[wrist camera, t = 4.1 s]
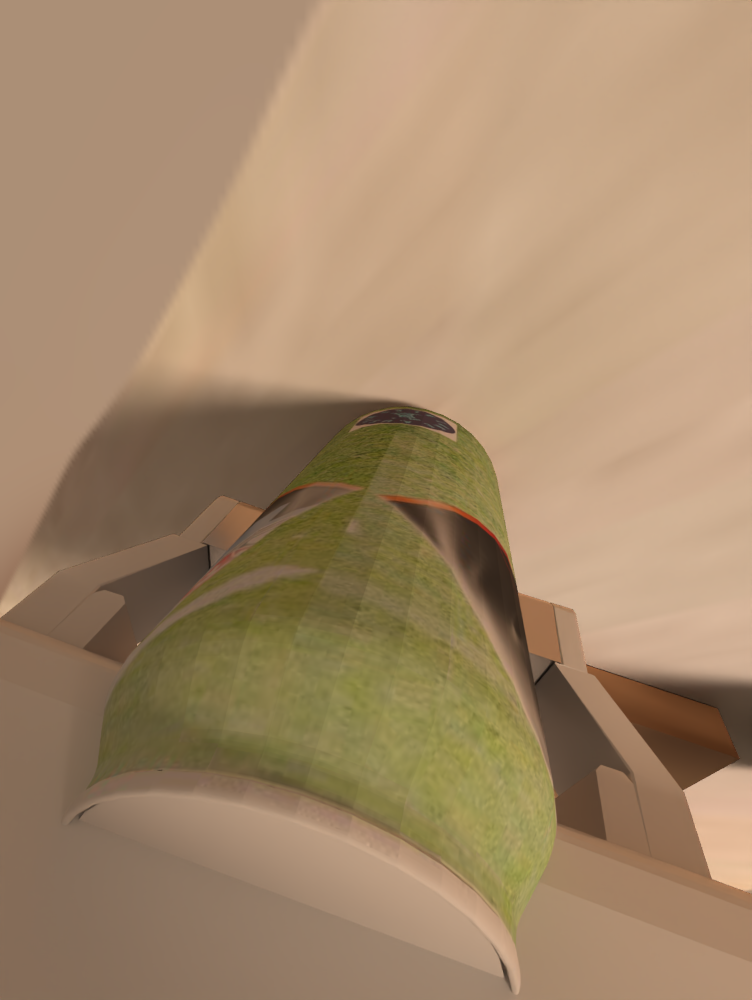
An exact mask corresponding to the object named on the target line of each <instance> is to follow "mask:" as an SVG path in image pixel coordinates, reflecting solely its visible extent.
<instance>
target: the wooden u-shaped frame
mask: <svg viewBox="0 0 752 1000" xmlns="http://www.w3.org/2000/svg"><path fill="white" fill-rule="evenodd" d="M586 667H587V672H588V673H589V674H591V675H594V676H595V677H596V678H597V680H598V681H599V682H600V683H601V685H602V686H603V687H604V689H605V690H606V691H607V693H608V694H609V695H610V696H611V698H612V699H613V700H614V702H615V703H616V704H617V706H618V707H619V708H620V709H621V711H622V712H623V713H624V715H625V716H626V717H627V719H628V720H629V721H630V722H631V724H632V725H633V726H634V728H635V729H636V730H637V732H638V733H639V734H640V736H641V737H642V738H643V739H644V741H645V742H646V743H647V745H648V746H649V747H650V749H651V750H652V751H653V752H654V754H655V755H656V756H657V758H658V759H659V760H660V762H661V763H662V764H663V765H664V767H665V768H666V769H667V771H668V772H669V773H670V775H671V776H672V777H673V779H674V780H675V781H676V782H677V784H678V785H679V786H680V788H681V789H682V790H684V789H686V788H688V787H690V786H691V785H693V784H695V783H697V782H699V781H700V780H702V779H704V778H706V777H708V776H710V775H711V774H713V773H715V772H717V771H719V770H720V769H722V768H724V767H726V766H728V765H729V764H731V763H733V762H735V761H737V760H739V759H740V758H739V756H738V754H737V751H736V749H735V747H734V745H733V742H732V740H731V738H730V736H729V733H728V731H727V729H726V727H725V724H724V722H723V720H722V718H721V716H720V713H719V711H718V709H717V708H714V707H711V706H708V705H705V704H702V703H699V702H696V701H693V700H690V699H687V698H684V697H681V696H678V695H675V694H672V693H669V692H666V691H663V690H660V689H657V688H654V687H651V686H648V685H645V684H642V683H639V682H636V681H633V680H630V679H627V678H624V677H621V676H618V675H615V674H612V673H609V672H606V671H603V670H600V669H597V668H594V667H591V666H588V665H586ZM553 788H554V786H553ZM557 797H558V795H557V793H556V791H555V789H554V798H557Z"/></svg>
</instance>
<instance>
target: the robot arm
mask: <svg viewBox="0 0 752 1000" xmlns="http://www.w3.org/2000/svg"><path fill="white" fill-rule="evenodd" d="M264 511H265V510H264V509H261V508H258V507H255V506H253V505H250V504H247V503H244V502H240V501H237V500H234V499H231V498H229V497H226V496H221V497H218V498H216V499H215V500H214V501H213V502H212V503H211V504H210V505H209V506H208V507H207V508H206V509H205V510H204V511H203V512H202V513H201V514H200V515H199V516H198V517H197V518H196V519H195V520H194V521H193V522H192V523H191V524H190V525H189V526H188V527H187V528H186V529H185V530H184V531H183V532H182V533H181V534H180V535H175V534H171V535H168V536H165V537H162V538H159V539H156V540H153V541H150V542H147V543H144V544H141V545H138V546H135V547H131V548H128V549H125V550H122V551H119V552H116V553H113V554H110V555H107V556H104V557H101V558H98V559H94V560H91V561H88V562H85V563H82V564H79V565H76V566H73V567H70V568H67V569H64V570H61V571H58V572H57V573H56V574H54V575H53V576H52V577H51V578H49V579H48V580H47V581H46V582H45V583H43V584H42V585H41V586H40V587H38V588H37V589H36V590H35V591H33V592H32V593H31V594H30V595H28V596H27V597H26V598H25V599H23V600H22V601H21V602H20V603H18V604H17V605H16V606H15V607H14V608H12V609H11V610H10V611H9V612H7V613H6V614H5V615H4V616H2V617H1V618H0V1000H752V894H751V893H748V892H745V891H743V890H740V889H737V888H734V887H732V886H729V885H726V884H723V883H721V882H718V881H715V880H712V878H711V875H710V872H709V869H708V866H707V862H706V859H705V856H704V853H703V850H702V847H701V844H700V841H699V837H698V834H697V831H696V828H695V825H694V822H693V819H692V815H691V812H690V809H689V806H688V803H687V800H686V797H685V793H684V792H683V790H682V789H681V788H680V786H679V785H678V784H677V782H676V781H675V780H674V779H673V777H672V776H671V775H670V773H669V772H668V771H667V769H666V768H665V767H664V765H663V764H662V763H661V762H660V760H659V759H658V758H657V756H656V755H655V754H654V752H653V751H652V750H651V749H650V747H649V746H648V745H647V743H646V742H645V741H644V739H643V738H642V737H641V736H640V734H639V733H638V732H637V730H636V729H635V728H634V726H633V725H632V724H631V722H630V721H629V720H628V719H627V717H626V716H625V715H624V713H623V712H622V711H621V709H620V708H619V707H618V706H617V704H616V703H615V702H614V700H613V699H612V698H611V696H610V695H609V694H608V693H607V691H606V690H605V689H604V687H603V686H602V685H601V683H600V682H599V681H598V680H597V678H596V677H595V676H594V675H591V674H589V673H588V672H587V667H586V662H585V657H584V652H583V648H582V643H581V638H580V633H579V628H578V623H577V618H576V613H575V612H574V611H573V609H570V608H567V607H563V606H560V605H557V604H554V603H549V602H547V601H544V600H540V599H537V598H534V597H531V596H528V595H525V594H521V593H518V596H519V602H520V607H521V612H522V618H523V623H524V629H525V634H526V640H527V645H528V650H529V656H530V661H531V667H532V672H533V678H534V683H535V688H536V694H537V699H538V705H539V710H540V716H541V721H542V726H543V732H544V737H545V743H546V748H547V754H548V759H549V764H550V770H551V775H552V781H553V786H554V789H555V791H556V793H557V795H558V797H557V798H555V807H556V817H557V828H556V836H555V840H554V845H553V849H552V853H551V856H550V859H549V862H548V864H547V866H546V868H545V870H544V872H543V874H542V876H541V878H540V880H539V882H538V884H537V886H536V888H535V890H534V892H533V894H532V896H531V898H530V900H529V902H528V904H527V906H526V908H525V910H524V912H523V913H522V915H521V917H520V920H519V923H518V926H517V932H516V952H517V957H518V961H519V966H520V975H521V985H520V990H519V993H518V994H517V995H515V994H513V993H512V992H511V989H510V981H509V977H508V973H507V971H506V970H503V974H504V978H501V977H499V976H496V975H493V974H491V973H488V972H485V971H482V970H480V969H477V968H474V967H472V966H469V965H466V964H464V963H461V962H458V961H456V960H453V959H450V958H448V957H445V956H442V955H440V954H437V953H434V952H432V951H429V950H426V949H424V948H421V947H418V946H416V945H413V944H410V943H408V942H405V941H402V940H400V939H397V938H394V937H392V936H389V935H386V934H383V933H381V932H378V931H375V930H373V929H370V928H367V927H365V926H362V925H359V924H357V923H354V922H351V921H349V920H346V919H343V918H341V917H338V916H335V915H333V914H330V913H327V912H325V911H322V910H319V909H317V908H314V907H311V906H308V905H306V904H303V903H300V902H298V901H295V900H292V899H290V898H287V897H284V896H282V895H279V894H276V893H274V892H271V891H268V890H266V889H263V888H260V887H258V886H255V885H252V884H250V883H247V882H244V881H241V880H239V879H236V878H233V877H231V876H228V875H225V874H223V873H220V872H217V871H215V870H212V869H209V868H207V867H204V866H201V865H199V864H196V863H193V862H190V861H188V860H185V859H182V858H180V857H177V856H174V855H172V854H169V853H166V852H164V851H161V850H158V849H156V848H153V847H150V846H148V845H145V844H142V843H139V842H137V841H134V840H131V839H129V838H126V837H123V836H121V835H118V834H115V833H113V832H110V831H107V830H105V829H102V828H99V827H97V826H94V825H91V824H88V823H86V822H83V821H80V820H79V819H80V817H81V816H82V815H83V813H81V812H80V813H78V814H77V815H76V816H75V817H74V818H73V820H72V821H71V822H70V823H69V824H68V825H62V824H61V821H62V818H63V816H64V815H65V813H66V812H67V810H68V809H69V807H70V806H71V805H72V803H73V802H74V800H75V799H76V798H77V797H78V795H79V794H80V793H82V792H83V791H85V790H86V789H87V787H88V785H89V784H90V782H91V780H92V779H93V777H94V774H95V772H96V768H97V764H98V756H99V748H100V740H101V731H102V724H103V717H104V708H105V703H106V699H107V695H108V692H109V689H110V687H111V684H112V682H113V680H114V679H115V677H116V675H117V674H118V672H119V670H120V669H121V667H122V666H123V664H124V662H125V661H126V659H127V657H128V656H129V655H130V654H131V652H132V651H133V650H134V649H135V648H136V647H137V644H138V643H140V642H141V641H143V640H144V638H145V637H146V636H147V635H148V634H149V633H150V632H151V631H152V630H153V629H154V628H155V627H156V626H157V625H158V624H159V623H160V621H161V620H162V619H163V618H164V617H165V616H166V615H167V614H168V613H169V612H170V611H171V610H172V609H173V608H174V607H175V605H176V604H177V603H178V602H179V601H180V600H181V599H182V598H183V597H184V596H185V595H186V594H187V593H188V592H189V591H190V590H191V588H192V587H193V586H194V585H195V584H196V583H197V582H198V581H199V580H200V579H201V578H202V577H203V576H204V575H205V574H206V573H207V571H208V570H209V569H210V568H211V567H212V566H213V565H214V564H215V563H216V562H217V561H218V560H219V559H220V558H221V557H222V556H223V554H224V553H225V552H226V551H227V550H228V549H229V548H230V547H231V546H232V545H233V544H234V543H235V542H236V541H237V540H238V539H239V537H240V536H241V535H242V534H243V533H244V532H245V531H246V530H247V529H248V528H249V527H250V526H251V525H252V524H253V523H254V522H255V520H256V519H257V518H258V517H259V516H260V515H261V514H262V513H263V512H264Z"/></svg>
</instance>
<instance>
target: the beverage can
mask: <svg viewBox="0 0 752 1000" xmlns="http://www.w3.org/2000/svg"><path fill="white" fill-rule="evenodd" d="M80 812H81V813H83V815H82V816H81V817H80V819H79V820H80V821H83V822H86V823H88V824H91V825H94V826H97V827H99V828H102V829H105V830H107V831H110V832H113V833H115V834H118V835H121V836H123V837H126V838H129V839H131V840H134V841H137V842H139V843H142V844H145V845H148V846H150V847H153V848H156V849H158V850H161V851H164V852H166V853H169V854H172V855H174V856H177V857H180V858H182V859H185V860H188V861H190V862H193V863H196V864H199V865H201V866H204V867H207V868H209V869H212V870H215V871H217V872H220V873H223V874H225V875H228V876H231V877H233V878H236V879H239V880H241V881H244V882H247V883H250V884H252V885H255V886H258V887H260V888H263V889H266V890H268V891H271V892H274V893H276V894H279V895H282V896H284V897H287V898H290V899H292V900H295V901H298V902H300V903H303V904H306V905H308V906H311V907H314V908H317V909H319V910H322V911H325V912H327V913H330V914H333V915H335V916H338V917H341V918H343V919H346V920H349V921H351V922H354V923H357V924H359V925H362V926H365V927H367V928H370V929H373V930H375V931H378V932H381V933H383V934H386V935H389V936H392V937H394V938H397V939H400V940H402V941H405V942H408V943H410V944H413V945H416V946H418V947H421V948H424V949H426V950H429V951H432V952H434V953H437V954H440V955H442V956H445V957H448V958H450V959H453V960H456V961H458V962H461V963H464V964H466V965H469V966H472V967H474V968H477V969H480V970H482V971H485V972H488V973H491V974H493V975H496V976H499V977H501V978H504V974H503V970H506V971H507V973H508V977H509V981H510V989H511V992H512V993H513V994H515V995H517V994H518V993H519V990H520V985H521V975H520V966H519V961H518V957H517V952H516V932H517V926H518V923H519V920H520V917H521V915H522V913H523V912H524V910H525V908H526V906H527V904H528V902H529V900H530V898H531V896H532V894H533V892H534V890H535V888H536V886H537V884H538V882H539V880H540V878H541V876H542V874H543V872H544V870H545V868H546V866H547V864H548V862H549V859H550V856H551V853H552V849H553V845H554V840H555V836H556V828H557V817H556V807H555V798H554V788H553V781H552V775H551V770H550V764H549V759H548V754H547V748H546V743H545V737H544V732H543V726H542V721H541V716H540V710H539V705H538V699H537V694H536V688H535V683H534V678H533V672H532V667H531V661H530V656H529V650H528V645H527V640H526V634H525V629H524V623H523V618H522V612H521V607H520V602H519V596H518V591H517V585H516V580H515V574H514V569H513V564H512V558H511V553H510V547H509V542H508V537H507V531H506V526H505V520H504V515H503V509H502V504H501V499H500V493H499V488H498V482H497V477H496V474H495V471H494V468H493V465H492V462H491V460H490V459H489V457H488V455H487V453H486V452H485V450H484V448H483V447H482V446H481V444H480V443H479V442H478V441H477V440H476V439H475V437H474V436H473V435H472V434H471V433H470V432H468V431H467V430H466V429H465V428H463V427H462V426H461V425H460V424H458V423H456V422H455V421H453V420H451V419H449V418H447V417H446V416H444V415H441V414H438V413H435V412H432V411H429V410H426V409H420V408H413V407H390V408H385V409H380V410H376V411H373V412H370V413H368V414H365V415H363V416H360V417H358V418H357V419H355V420H354V421H352V422H351V423H349V424H347V425H346V426H345V427H344V428H343V429H342V430H341V431H340V432H339V433H338V434H336V435H335V436H334V438H333V439H332V440H331V441H330V442H329V443H328V444H327V445H326V446H325V447H324V448H323V449H322V450H321V451H320V452H319V453H318V455H317V456H316V457H315V458H314V459H313V460H312V461H311V462H310V463H309V464H308V465H307V466H306V467H305V468H304V469H303V470H302V472H301V473H300V474H299V475H298V476H297V477H296V478H295V479H294V480H293V481H292V482H291V483H290V484H289V485H288V486H287V487H286V489H285V490H284V491H283V492H282V493H281V494H280V495H279V496H278V497H277V498H276V499H275V500H274V501H273V502H272V503H271V504H270V506H269V507H268V508H267V509H266V510H265V511H264V512H263V513H262V514H261V515H260V516H259V517H258V518H257V519H256V520H255V522H254V523H253V524H252V525H251V526H250V527H249V528H248V529H247V530H246V531H245V532H244V533H243V534H242V535H241V536H240V537H239V539H238V540H237V541H236V542H235V543H234V544H233V545H232V546H231V547H230V548H229V549H228V550H227V551H226V552H225V553H224V554H223V556H222V557H221V558H220V559H219V560H218V561H217V562H216V563H215V564H214V565H213V566H212V567H211V568H210V569H209V570H208V571H207V573H206V574H205V575H204V576H203V577H202V578H201V579H200V580H199V581H198V582H197V583H196V584H195V585H194V586H193V587H192V588H191V590H190V591H189V592H188V593H187V594H186V595H185V596H184V597H183V598H182V599H181V600H180V601H179V602H178V603H177V604H176V605H175V607H174V608H173V609H172V610H171V611H170V612H169V613H168V614H167V615H166V616H165V617H164V618H163V619H162V620H161V621H160V623H159V624H158V625H157V626H156V627H155V628H154V629H153V630H152V631H151V632H150V633H149V634H148V635H147V636H146V637H145V638H144V640H143V641H142V642H141V643H140V644H139V645H138V646H137V647H136V648H135V649H134V650H133V651H132V652H131V654H130V655H129V656H128V657H127V659H126V661H125V662H124V664H123V666H122V667H121V669H120V670H119V672H118V674H117V675H116V677H115V679H114V680H113V682H112V684H111V687H110V689H109V692H108V695H107V699H106V703H105V708H104V717H103V724H102V731H101V740H100V748H99V756H98V764H97V768H96V772H95V774H94V777H93V779H92V780H91V782H90V784H89V785H88V787H87V789H86V790H85V791H83V792H82V793H80V794H79V795H78V797H77V798H76V799H75V800H74V802H73V803H72V805H71V806H70V807H69V809H68V810H67V812H66V813H65V815H64V816H63V818H62V821H61V824H62V825H68V824H69V823H70V822H71V821H72V820H73V818H74V817H75V816H76V815H77V814H78V813H80Z"/></svg>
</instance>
